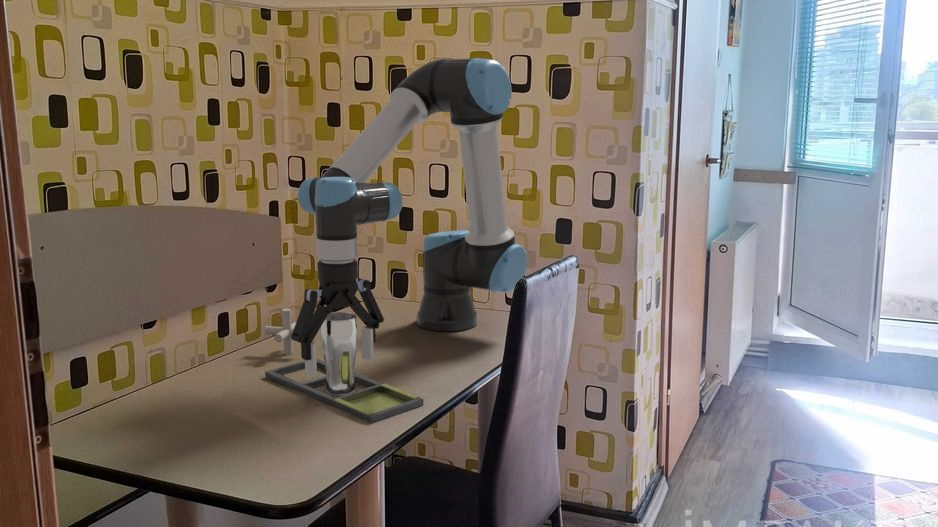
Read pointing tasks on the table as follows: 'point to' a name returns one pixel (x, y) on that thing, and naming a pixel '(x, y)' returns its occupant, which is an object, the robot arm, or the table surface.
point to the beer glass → (340, 352)
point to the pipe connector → (283, 331)
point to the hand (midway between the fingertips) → (340, 367)
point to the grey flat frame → (352, 394)
